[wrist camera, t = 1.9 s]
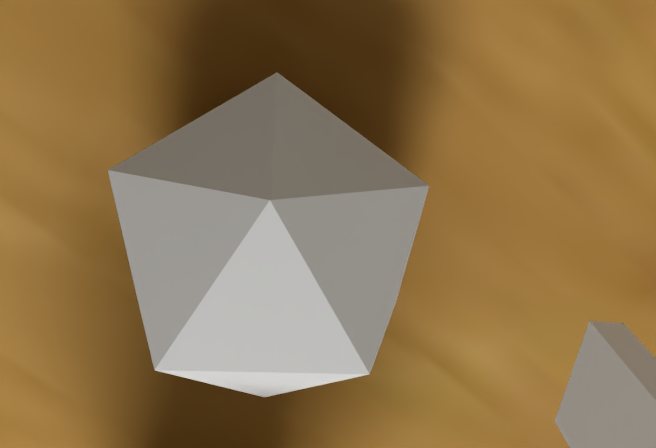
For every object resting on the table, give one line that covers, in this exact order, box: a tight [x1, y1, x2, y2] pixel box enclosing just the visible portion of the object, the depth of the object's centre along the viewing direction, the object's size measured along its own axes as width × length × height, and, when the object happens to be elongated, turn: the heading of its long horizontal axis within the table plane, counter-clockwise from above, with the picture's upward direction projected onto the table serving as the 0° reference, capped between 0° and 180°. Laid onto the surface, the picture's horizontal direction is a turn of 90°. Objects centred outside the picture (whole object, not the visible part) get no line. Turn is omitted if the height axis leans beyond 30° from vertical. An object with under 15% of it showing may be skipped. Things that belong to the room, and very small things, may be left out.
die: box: [108, 72, 429, 397], centre depth 17 cm, size 8×9×10 cm
